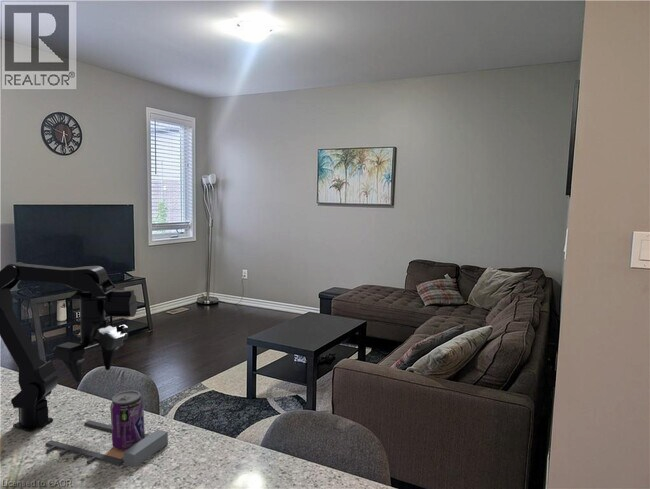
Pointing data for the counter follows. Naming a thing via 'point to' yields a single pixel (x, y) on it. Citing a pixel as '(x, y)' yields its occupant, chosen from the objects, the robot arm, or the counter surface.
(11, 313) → the robot arm
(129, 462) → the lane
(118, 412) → the beverage can
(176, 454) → the counter surface
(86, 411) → the counter surface
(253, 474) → the counter surface
